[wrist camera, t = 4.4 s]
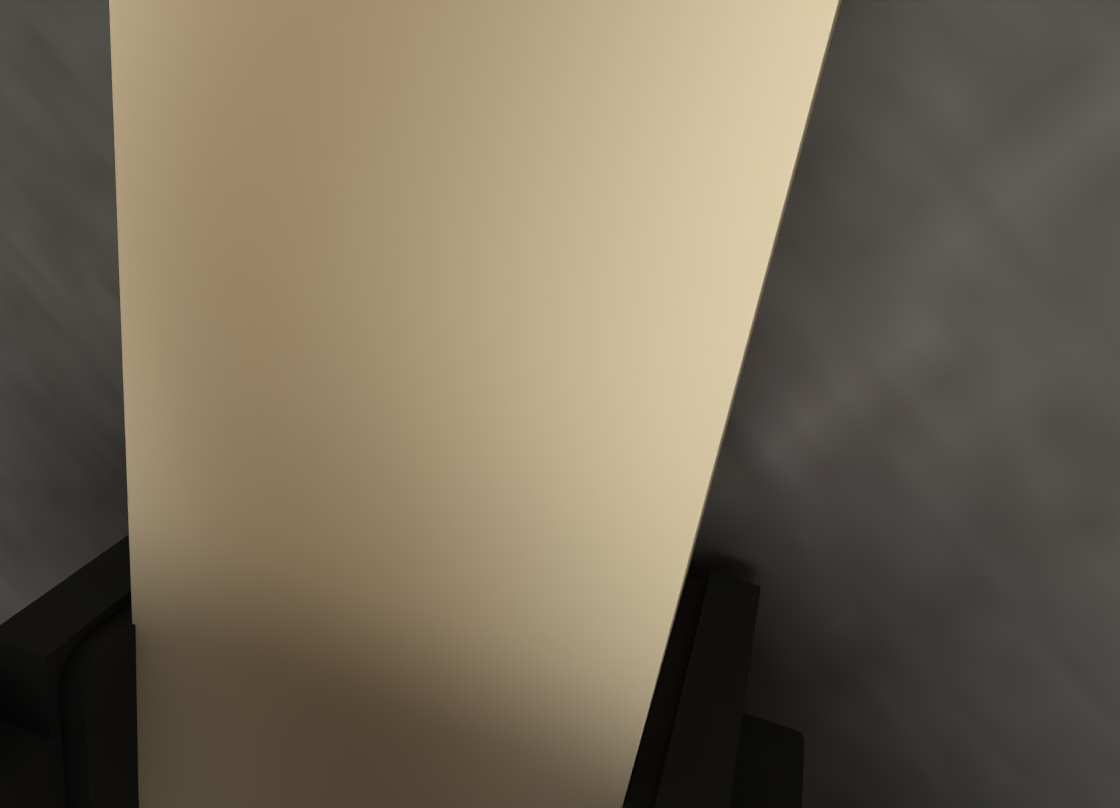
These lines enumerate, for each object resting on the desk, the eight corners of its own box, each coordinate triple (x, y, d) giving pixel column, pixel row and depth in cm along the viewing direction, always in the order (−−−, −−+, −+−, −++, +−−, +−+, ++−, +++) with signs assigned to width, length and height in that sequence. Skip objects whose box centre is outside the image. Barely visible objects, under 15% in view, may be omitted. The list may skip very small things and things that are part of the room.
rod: (1022, -667, 6) (1288, -1674, 2) (529, 1162, 15) (433, 1511, 12) (465, -688, 7) (53, -1489, 3) (312, 1068, 16) (159, 1368, 12)
